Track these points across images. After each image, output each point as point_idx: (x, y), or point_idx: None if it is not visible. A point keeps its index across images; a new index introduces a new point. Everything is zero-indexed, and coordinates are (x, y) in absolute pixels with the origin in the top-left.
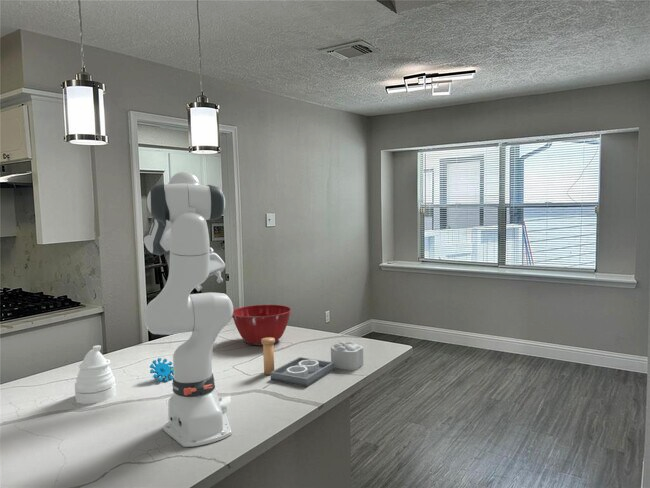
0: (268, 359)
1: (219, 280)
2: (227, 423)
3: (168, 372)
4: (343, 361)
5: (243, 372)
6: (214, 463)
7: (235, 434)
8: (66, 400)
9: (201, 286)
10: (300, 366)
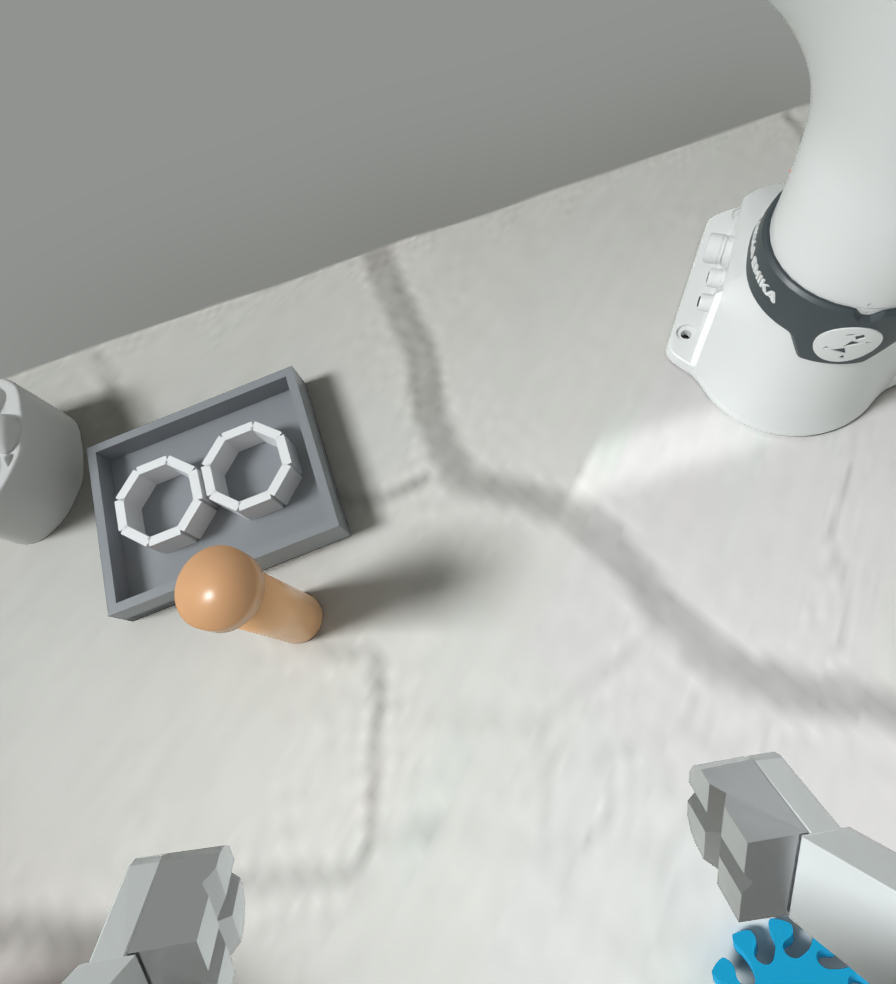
0: (284, 583)
1: (221, 868)
2: (700, 262)
3: (768, 978)
4: (58, 430)
5: (377, 721)
6: None
7: (696, 221)
8: None
9: (721, 785)
10: (212, 483)
